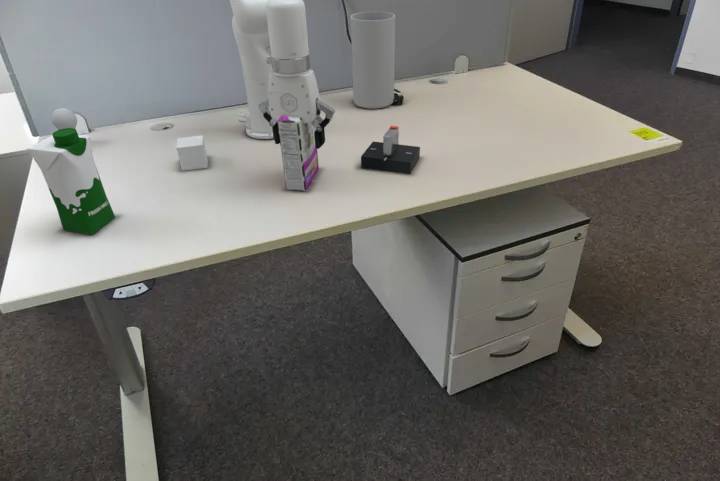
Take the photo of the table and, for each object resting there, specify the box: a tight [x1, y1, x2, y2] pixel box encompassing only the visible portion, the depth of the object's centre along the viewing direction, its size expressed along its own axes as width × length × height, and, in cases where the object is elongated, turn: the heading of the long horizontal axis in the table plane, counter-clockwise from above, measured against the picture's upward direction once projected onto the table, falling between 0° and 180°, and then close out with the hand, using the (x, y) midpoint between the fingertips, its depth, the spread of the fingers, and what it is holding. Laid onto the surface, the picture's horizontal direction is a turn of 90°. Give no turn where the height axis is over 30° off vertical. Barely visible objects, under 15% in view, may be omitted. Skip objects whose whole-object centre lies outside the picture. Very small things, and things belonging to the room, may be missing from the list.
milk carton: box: [26, 128, 116, 236], centre depth 101 cm, size 9×9×20 cm
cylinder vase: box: [350, 11, 396, 110], centre depth 154 cm, size 12×12×25 cm
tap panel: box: [360, 141, 421, 175], centre depth 125 cm, size 12×10×3 cm
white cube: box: [175, 134, 208, 172], centre depth 126 cm, size 6×6×6 cm
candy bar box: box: [277, 116, 320, 192], centre depth 115 cm, size 11×5×16 cm, turn 168°
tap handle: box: [382, 125, 400, 157], centre depth 123 cm, size 6×2×5 cm, turn 161°
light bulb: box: [50, 107, 78, 131], centre depth 137 cm, size 6×6×10 cm
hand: (299, 144), depth 114 cm, fingers open, 9 cm apart
